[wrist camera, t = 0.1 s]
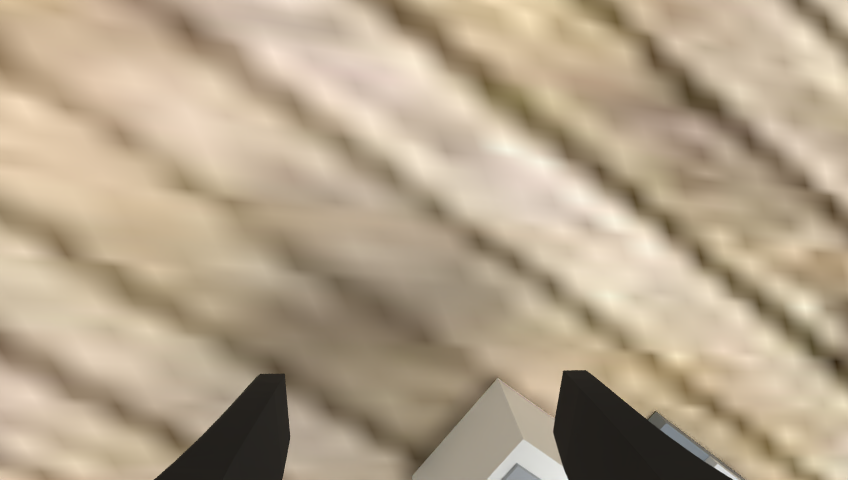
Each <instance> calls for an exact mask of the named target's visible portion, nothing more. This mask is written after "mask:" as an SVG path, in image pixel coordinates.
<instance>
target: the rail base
mask: <svg viewBox="0 0 848 480" xmlns="http://www.w3.org/2000/svg"><path fill="white" fill-rule="evenodd" d="M648 421H649V422H651V423H652V424H653V425H655V426H656V427H657V428H659V429H660V430H661V431H662V432H664V433H665V434H666V435H668V436H669V437H671V438H672V439H673V440H675V441H676V442H677V443H679V444H680V445H682V446H683V447H684V448H686V449H687V450H689V451H690V452H691V453H693V454H694V455H696V456H697V457H699V458H700V459H702V460H703V461H705V462H706V463H708V464H709V465H711V466H712V467H714V468H716V469H717V470H719V471H720V472H722V473H724V474H725V475H727V476H728V477H730V478H731V479H733V480H745V479H744V478H742V477H741V476H740V475H739V474H737V473H736V472H735V471H733V470H732V469H731V468H729V467H728V466H727V465H725V464H724V463H723V462H721V461H720V460H719V459H718V458H716V457H715V456H714V455H712V454H711V453H710V452H708V451H707V450H706V449H704V448H703V447H702V446H700V445H699V444H698V443H696V442H695V441H694V440H693V439H691V438H690V437H689V436H687V435H686V434H685V433H683V432H682V431H681V430H679V429H678V428H677V427H675V426H674V425H673V424H672V423H670V422H669V421H668V420H666V419H665V418H664V417H662V416H661V415H660V414H658V413H657V412H655V413H654V414H653V415H652V416H651V417H650V418H649V419H648Z"/></svg>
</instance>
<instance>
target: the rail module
mask: <svg viewBox="0 0 848 480" xmlns="http://www.w3.org/2000/svg"><path fill="white" fill-rule="evenodd" d="M554 422H555V418H553V417H552V416H550V415H549V414H548V413H546V412H545V411H543V410H542V409H541V408H539V407H538V406H537V405H535V404H534V403H532V402H531V401H530V400H528V399H527V398H525V397H524V396H523V395H521V394H520V393H518V392H517V391H516V390H514V389H513V388H511V387H510V386H509V385H507V384H506V383H504V382H503V381H502V380H500V379H499V378H497V379H496V380H495V381H494V382H493V384H492V385H491V386H490V387H489V388H488V389H487V390H486V392H485V393H484V394H483V395H482V396H481V397H480V398H479V400H478V401H477V402H476V403H475V404H474V405H473V407H472V408H471V409H470V410H469V411H468V412H467V413H466V415H465V416H464V417H463V418H462V419H461V420H460V421H459V423H458V424H457V425H456V426H455V427H454V428H453V429H452V431H451V432H450V433H449V434H448V435H447V436H446V437H445V439H444V440H443V441H442V442H441V443H440V444H439V446H438V447H437V448H436V449H435V450H434V451H433V452H432V454H431V455H430V456H429V457H428V458H427V459H426V460H425V462H424V463H423V464H422V465H421V466H420V467H419V468H418V470H417V471H416V472H415V473H414V474H413V475H412V480H568V478H567V476H566V473H565V471H564V468H563V465H562V462H561V458H560V455H559V452H558V448H557V445H556V441H555V438H554V434H553V428H554Z"/></svg>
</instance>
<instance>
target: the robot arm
mask: <svg viewBox="0 0 848 480" xmlns="http://www.w3.org/2000/svg"><path fill="white" fill-rule="evenodd" d="M553 434H554V438H555V441H556V445H557V448H558V452H559V455H560V458H561V462H562V465H563V468H564V471H565V473H566V476H567V478H568V480H733V479H731V478H730V477H728V476H727V475H725V474H724V473H722V472H720V471H719V470H717V469H716V468H714V467H712V466H711V465H709V464H708V463H706V462H705V461H703V460H702V459H700V458H699V457H697V456H696V455H694V454H693V453H691V452H690V451H689V450H687V449H686V448H684V447H683V446H682V445H680V444H679V443H677V442H676V441H675V440H673V439H672V438H671V437H669V436H668V435H666V434H665V433H664V432H662V431H661V430H660V429H659V428H657V427H656V426H655V425H653V424H652V423H651V422H649V421H648V420H647V419H646V418H644V417H643V416H642V415H641V414H639V413H638V412H637V411H636V410H634V409H633V408H632V407H631V406H629V405H628V404H627V403H626V402H625V401H623V400H622V399H621V398H620V397H618V396H617V395H616V394H615V393H614V392H612V391H611V390H610V389H609V388H608V387H606V386H605V385H604V384H603V383H602V382H600V381H599V380H598V379H597V378H595V377H594V376H593V375H591V374H590V373H589V372H588V371H586V370H571V371H563V376H562V381H561V387H560V393H559V399H558V405H557V410H556V416H555V422H554V428H553ZM289 441H290V430H289V418H288V407H287V395H286V384H285V374H260V375H258V376H257V377H256V378H255V379H254V380H253V382H252V383H251V384H250V385H249V386H248V387H247V388H246V389H245V390H244V392H243V393H242V394H241V395H240V396H239V397H238V398H237V399H236V400H235V402H234V403H233V404H232V405H231V406H230V407H229V408H228V409H227V410H226V411H225V412H224V413H223V415H222V416H221V417H220V418H219V419H218V420H217V421H216V422H215V423H214V424H213V425H212V426H211V427H210V428H209V429H208V430H207V431H206V432H205V433H204V434H203V435H202V436H201V437H200V438H199V439H198V440H197V441H196V442H195V443H194V444H193V445H192V446H191V447H190V448H189V449H187V450H186V451H185V452H184V453H183V454H182V455H181V456H180V457H179V458H178V459H177V460H176V461H175V462H174V463H173V464H171V465H170V466H169V467H168V468H167V469H166V470H165V471H163V472H162V473H161V474H160V475H159V476H158V477H157V478H155V479H154V480H282V478H283V473H284V468H285V463H286V458H287V452H288V447H289Z"/></svg>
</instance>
